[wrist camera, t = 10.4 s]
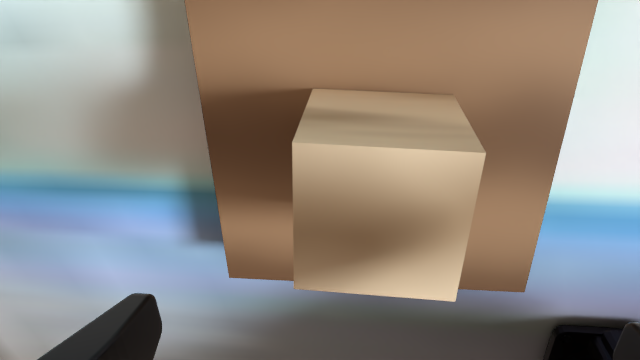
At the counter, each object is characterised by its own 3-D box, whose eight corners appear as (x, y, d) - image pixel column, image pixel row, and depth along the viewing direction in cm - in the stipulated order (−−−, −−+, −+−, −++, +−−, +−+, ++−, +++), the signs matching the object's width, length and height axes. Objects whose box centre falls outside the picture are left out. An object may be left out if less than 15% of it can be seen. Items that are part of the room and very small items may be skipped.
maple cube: (434, 215, 16) (455, 301, 12) (311, 207, 17) (293, 288, 13) (453, 94, 14) (486, 152, 10) (312, 88, 15) (292, 142, 11)
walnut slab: (505, 246, 20) (524, 292, 18) (246, 235, 22) (229, 277, 19) (567, -51, 15) (609, -47, 12) (210, -42, 16) (178, -37, 13)
